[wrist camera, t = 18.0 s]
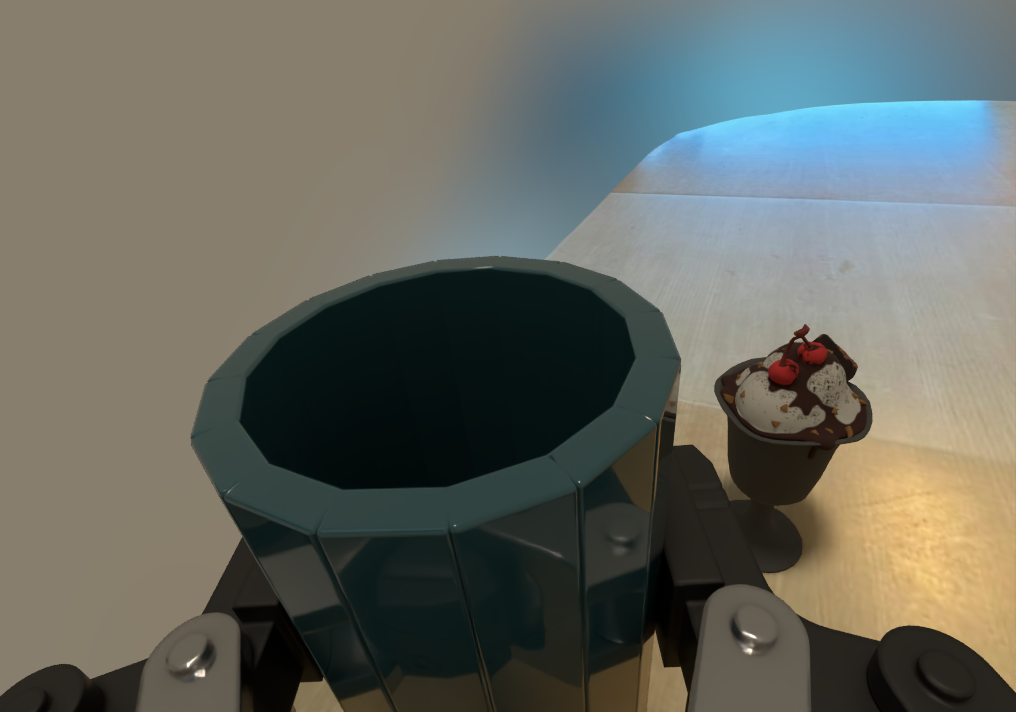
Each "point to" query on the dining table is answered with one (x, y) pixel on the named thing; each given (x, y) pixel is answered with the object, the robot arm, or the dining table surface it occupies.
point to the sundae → (787, 435)
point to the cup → (457, 482)
